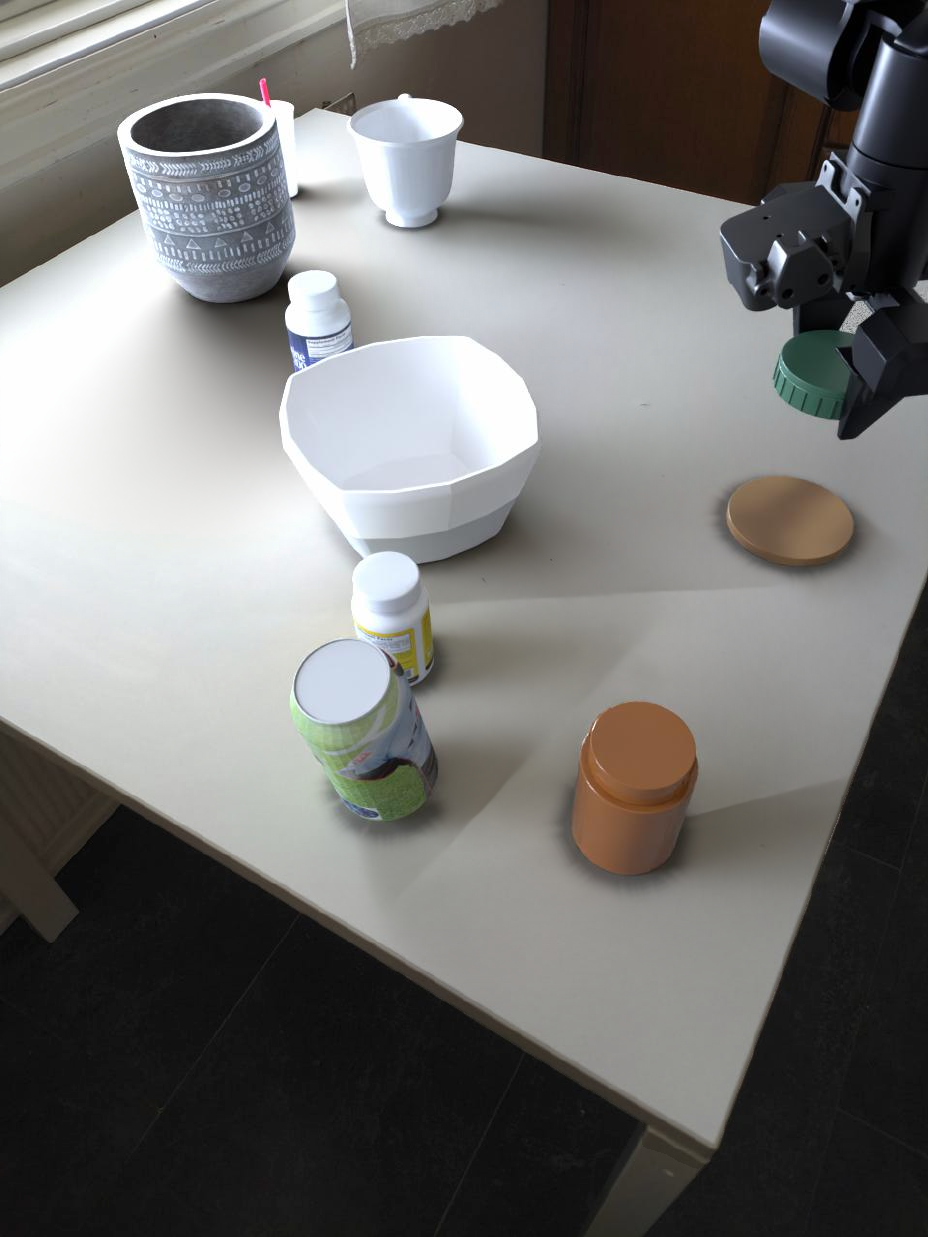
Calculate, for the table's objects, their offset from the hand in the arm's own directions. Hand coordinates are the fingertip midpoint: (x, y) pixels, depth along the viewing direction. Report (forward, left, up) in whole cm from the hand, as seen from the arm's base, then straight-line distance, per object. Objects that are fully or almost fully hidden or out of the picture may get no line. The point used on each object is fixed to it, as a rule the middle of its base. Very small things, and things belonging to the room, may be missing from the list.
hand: (823, 404), depth 57 cm
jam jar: (+4, +27, -12) cm, 29 cm away
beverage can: (+18, +30, -12) cm, 37 cm away
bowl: (+26, +7, -12) cm, 30 cm away
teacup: (+47, -38, -12) cm, 62 cm away
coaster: (0, -2, -12) cm, 12 cm away
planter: (+58, -18, -12) cm, 62 cm away
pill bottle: (+40, -5, -12) cm, 42 cm away
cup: (+63, -37, -12) cm, 74 cm away
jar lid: (0, 0, +3) cm, 3 cm away
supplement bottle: (+21, +21, -12) cm, 32 cm away
